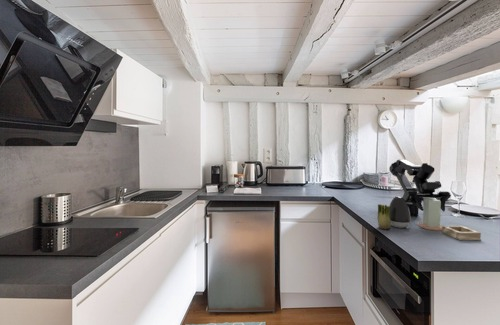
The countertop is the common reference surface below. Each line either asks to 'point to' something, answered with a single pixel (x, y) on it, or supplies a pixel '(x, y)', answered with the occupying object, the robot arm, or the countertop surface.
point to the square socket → (461, 232)
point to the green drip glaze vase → (383, 216)
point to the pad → (430, 227)
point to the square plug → (431, 212)
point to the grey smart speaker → (399, 213)
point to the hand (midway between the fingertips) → (433, 210)
